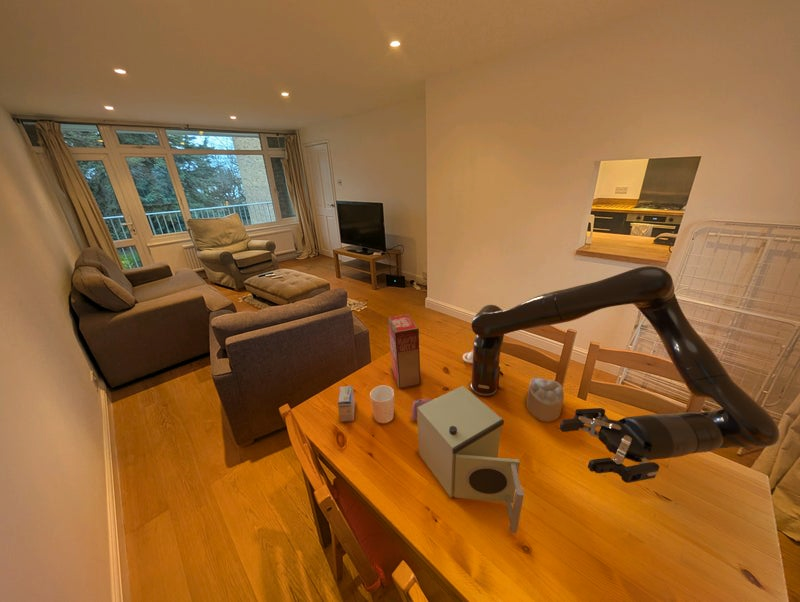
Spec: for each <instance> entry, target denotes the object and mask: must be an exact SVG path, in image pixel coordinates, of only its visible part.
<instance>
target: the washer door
mask: <svg viewBox="0 0 800 602" xmlns="http://www.w3.org/2000/svg"><path fill="white" fill-rule="evenodd" d="M520 465H521V462H520V459H517V458H507V457H498V458H496V457H484V456H472V455H460V454H456V465H455V490H454V496H453V497H454V498H457V499H468V500H476V501H486V502H495V503H506V510H507V516H508V521H509V528H508V529H509V531H510V533H511V534H517V532H518V528H519V523H520V517H521V513H522V507H523V502H524V497H525V490H524V489H523V488H522V486H521V481H520V478H519V470H520Z"/></svg>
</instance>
